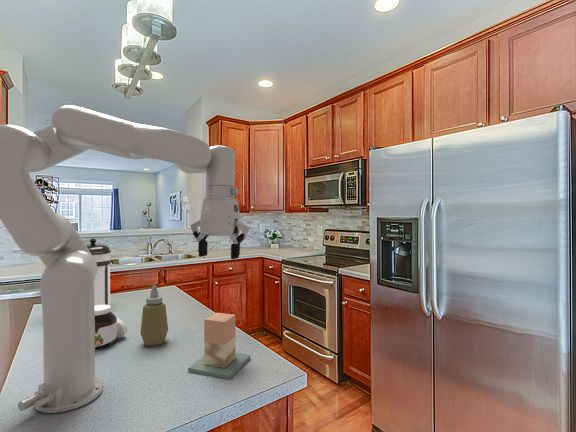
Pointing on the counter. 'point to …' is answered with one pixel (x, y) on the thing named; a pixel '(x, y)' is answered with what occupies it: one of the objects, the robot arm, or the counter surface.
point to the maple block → (219, 353)
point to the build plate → (218, 371)
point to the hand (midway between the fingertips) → (218, 257)
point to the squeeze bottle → (154, 320)
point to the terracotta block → (219, 328)
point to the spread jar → (107, 326)
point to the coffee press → (101, 272)
